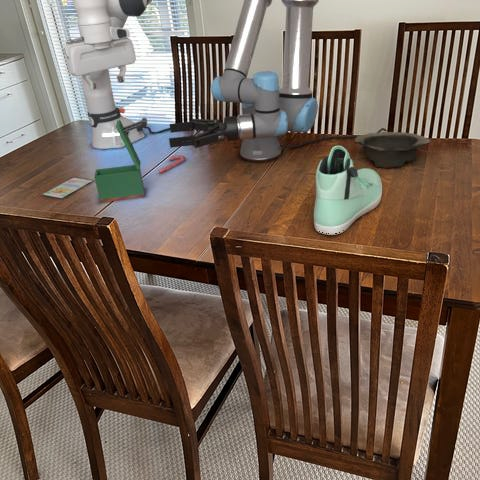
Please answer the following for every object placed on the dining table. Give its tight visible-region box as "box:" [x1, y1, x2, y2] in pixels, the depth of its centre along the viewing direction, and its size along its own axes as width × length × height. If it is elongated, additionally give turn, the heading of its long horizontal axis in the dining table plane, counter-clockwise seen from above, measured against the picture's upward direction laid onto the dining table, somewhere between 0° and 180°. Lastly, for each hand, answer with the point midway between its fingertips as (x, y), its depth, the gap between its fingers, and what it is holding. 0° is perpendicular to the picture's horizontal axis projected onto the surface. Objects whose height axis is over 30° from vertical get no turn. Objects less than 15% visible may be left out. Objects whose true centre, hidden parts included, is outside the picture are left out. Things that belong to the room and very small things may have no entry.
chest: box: [93, 164, 145, 203], centre depth 155 cm, size 14×6×9 cm, turn 99°
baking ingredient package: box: [42, 177, 92, 199], centre depth 165 cm, size 9×1×15 cm
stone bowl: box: [354, 131, 431, 169], centre depth 165 cm, size 25×25×9 cm
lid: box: [116, 117, 148, 170], centre depth 149 cm, size 15×6×9 cm
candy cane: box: [158, 154, 186, 174], centre depth 176 cm, size 6×15×2 cm, turn 145°
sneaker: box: [313, 145, 383, 236], centre depth 133 cm, size 14×35×20 cm, turn 152°
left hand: (107, 85), depth 139 cm, fingers open, 8 cm apart
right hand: (169, 135), depth 149 cm, fingers open, 13 cm apart
